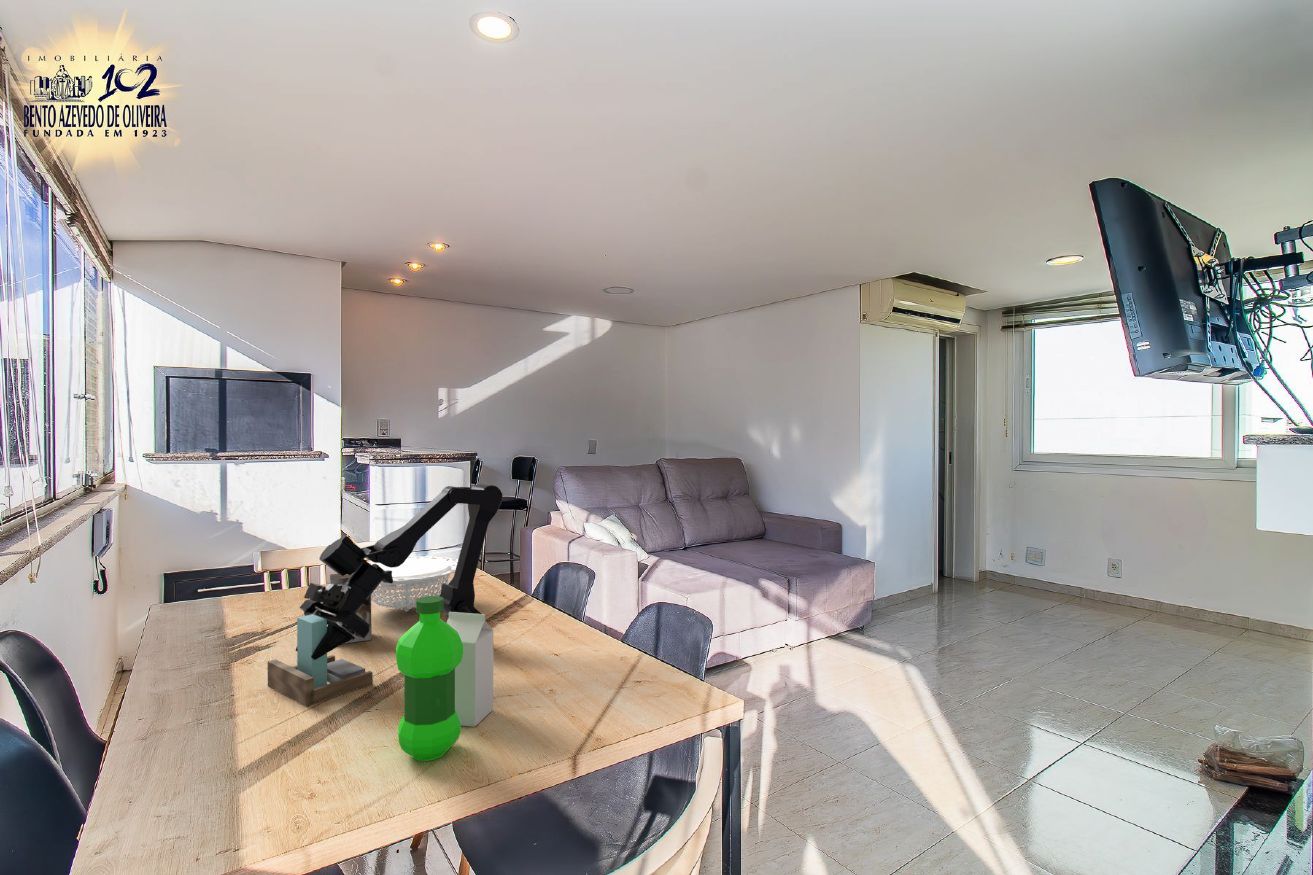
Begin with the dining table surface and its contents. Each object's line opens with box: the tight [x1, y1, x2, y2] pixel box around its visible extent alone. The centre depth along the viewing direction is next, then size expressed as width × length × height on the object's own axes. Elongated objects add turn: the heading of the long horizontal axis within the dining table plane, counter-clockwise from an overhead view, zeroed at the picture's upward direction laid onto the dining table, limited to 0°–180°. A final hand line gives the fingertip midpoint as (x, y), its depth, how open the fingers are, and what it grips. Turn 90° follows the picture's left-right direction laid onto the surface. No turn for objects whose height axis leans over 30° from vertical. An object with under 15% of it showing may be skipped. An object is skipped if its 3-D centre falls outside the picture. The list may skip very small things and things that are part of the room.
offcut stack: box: [327, 658, 366, 684], centre depth 135 cm, size 11×5×2 cm, turn 54°
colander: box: [367, 555, 459, 613], centre depth 183 cm, size 32×32×13 cm
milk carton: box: [446, 612, 494, 727], centre depth 118 cm, size 7×7×19 cm
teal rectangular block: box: [296, 614, 328, 689], centre depth 130 cm, size 6×3×14 cm, turn 54°
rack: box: [267, 654, 374, 707], centre depth 132 cm, size 16×13×5 cm
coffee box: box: [329, 573, 373, 645], centre depth 160 cm, size 9×6×16 cm
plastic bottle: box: [395, 595, 463, 762], centre depth 105 cm, size 10×10×25 cm
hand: (305, 655), depth 129 cm, fingers closed on teal rectangular block, 6 cm apart
